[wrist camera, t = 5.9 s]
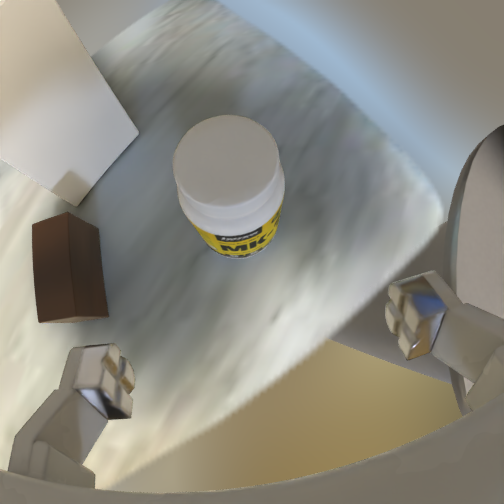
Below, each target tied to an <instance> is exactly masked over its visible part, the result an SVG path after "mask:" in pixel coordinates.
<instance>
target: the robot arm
mask: <svg viewBox="0 0 504 504" xmlns="http://www.w3.org/2000/svg"><path fill="white" fill-rule="evenodd" d="M388 295H389V296H390V298H391V299H390V300H389V301H388V303H387V304H386V310H385V315H386V321H387V324H388V327H389V329H390V331H391V333H392V334H394V335H396V336H398V337H400V338H399V342H398V345H399V347H400V349H401V351H402V352H403V354H404V356H405V358H406V360H407V361H408V360H411V359H414V358H416V357H419V356H422V355H425V354H427V353H430V352H431V354H432V355H433V356H435V357H436V358H438V359H439V360H441V361H442V362H444V363H445V364H447V365H448V366H450V367H451V368H453V369H454V370H455V371H457V372H458V373H460V374H461V375H463V376H464V377H466V378H467V379H469V380H470V381H472V382H473V383H474V385H473V386H472V388H471V389H470V390H469V392H468V393H467V396H466V398H465V399H466V401H467V403H468V404H469V406H470V408H471V410H472V412H470V413H468V414H467V415H465V416H463V417H461V418H459V419H458V420H456V421H454V422H452V423H450V424H448V425H446V426H444V427H442V428H440V429H438V430H436V431H434V432H432V433H429V434H427V435H425V436H423V437H421V438H418V439H416V440H414V441H412V442H409V443H407V444H404V445H402V446H400V447H397V448H395V449H392V450H389V451H387V452H384V453H381V454H379V455H376V456H373V457H370V458H367V459H364V460H361V461H358V462H355V463H352V464H349V465H346V466H343V467H339V468H335V469H332V470H328V471H325V472H321V473H317V474H313V475H309V476H304V477H301V478H295V479H291V480H286V481H281V482H275V483H269V484H264V485H257V486H250V487H244V488H235V489H226V490H216V491H202V492H182V493H181V492H180V493H145V492H125V491H112V490H102V489H95V474H94V472H93V471H91V470H90V469H88V468H86V467H85V466H83V465H82V464H83V462H84V461H85V459H86V457H87V456H88V454H89V452H90V451H91V449H92V447H93V446H94V444H95V442H96V441H97V439H98V437H99V436H100V434H101V432H102V431H103V429H104V428H105V426H106V424H107V423H108V420H113V419H128V418H131V415H132V405H133V399H132V398H131V396H130V395H129V394H130V393H131V392H132V390H133V389H134V387H135V376H134V370H133V368H132V365H131V364H130V362H129V361H128V359H126V358H124V357H122V356H120V354H121V350H120V348H119V347H118V346H117V344H115V343H109V344H99V345H89V346H82V347H73V348H72V349H71V350H70V352H69V355H68V358H67V361H66V364H65V368H64V371H63V375H62V378H61V382H60V385H59V389H58V390H54V391H53V392H52V393H51V395H50V396H49V397H48V398H47V399H46V400H45V401H44V403H43V404H42V405H41V406H40V407H39V408H38V409H37V411H36V412H35V413H34V414H33V415H32V416H31V418H30V419H29V420H28V421H27V422H26V424H25V425H24V426H23V427H22V428H21V429H20V431H19V432H18V433H17V434H16V435H15V438H14V443H13V447H12V452H11V456H10V461H9V467H8V471H5V470H2V469H0V504H504V319H502V318H499V317H497V316H495V315H493V314H491V313H489V312H486V311H484V310H482V309H480V308H478V307H475V306H473V305H471V304H469V303H465V304H463V303H462V302H461V301H460V299H459V298H458V297H457V296H456V294H455V293H454V292H453V291H452V290H451V288H450V287H449V286H448V285H447V284H446V282H445V281H444V280H443V279H442V278H441V276H440V275H439V274H438V273H437V272H435V271H433V270H432V271H429V272H426V273H423V274H420V275H416V276H413V277H410V278H407V279H404V280H400V281H397V282H394V283H391V284H390V286H389V289H388Z"/></svg>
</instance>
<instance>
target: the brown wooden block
mask: <svg viewBox="0 0 504 504" xmlns="http://www.w3.org/2000/svg"><path fill="white" fill-rule="evenodd" d="M32 252H33V273H34V286H35V297H36V306H37V315H38V322H39V323H76V322H82V321H89V320H95V319H101V318H107V317H109V314H108V307H107V301H106V294H105V287H104V279H103V270H102V261H101V251H100V240H99V229H98V228H96V227H94V226H93V225H91V224H89V223H87V222H85V221H84V220H82V219H80V218H78V217H76V216H75V215H73V214H71V213H69V212H65V213H63V214H60V215H57V216H54V217H51V218H48V219H45V220H43V221H40V222H37V223H35V224H32Z"/></svg>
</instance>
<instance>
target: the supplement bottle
mask: <svg viewBox="0 0 504 504" xmlns="http://www.w3.org/2000/svg"><path fill="white" fill-rule="evenodd" d="M173 173H174V177H175V180H176V183H177V193H178V199H179V202H180V205H181V208H182V210H183V212H184V213H185V215H186V216H187V218H188V219H189V221H190V222H191V223H192V224H193V226H194V227H195V229H196V230H197V231H198V233H199V234H200V235H201V237H202V238H203V239H204V241H205V242H206V243H207V245H208V246H209V247H210V248H211V249H212V250H214V251H215V252H217V253H218V254H220V255H222V256H225V257H228V258H234V259H242V258H248V257H251V256H254V255H256V254H258V253H259V252H261V251H262V250H263V249H265V248H266V247H267V246H268V245H269V244H270V242H271V241H272V239H273V238H274V236H275V234H276V231H277V227H278V223H279V218H280V213H281V207H282V202H283V198H284V192H285V177H284V172H283V169H282V166H281V164H280V162H279V151H278V147H277V145H276V142H275V140H274V139H273V137H272V135H271V134H270V133H269V132H268V130H267V129H265V128H264V127H263V126H262V125H260V124H259V123H257V122H256V121H254V120H252V119H249V118H246V117H243V116H237V115H221V116H215V117H212V118H209V119H206V120H204V121H202V122H200V123H198V124H197V125H195V126H194V127H192V128H191V129H190V130H189V131H188V132H187V133H186V134H185V135H184V136H183V137H182V139H181V140H180V142H179V143H178V145H177V147H176V150H175V153H174V157H173Z"/></svg>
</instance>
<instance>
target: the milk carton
mask: <svg viewBox="0 0 504 504" xmlns="http://www.w3.org/2000/svg"><path fill="white" fill-rule="evenodd" d="M138 134H139V131H138V129H137V128H136V126H135V125H134V123H133V122H132V120H131V119H130V117H129V116H128V114H127V113H126V111H125V110H124V108H123V107H122V105H121V103H120V102H119V100H118V99H117V97H116V96H115V94H114V93H113V91H112V90H111V88H110V86H109V85H108V83H107V82H106V80H105V79H104V77H103V75H102V74H101V72H100V71H99V69H98V68H97V66H96V64H95V63H94V61H93V60H92V58H91V57H90V55H89V54H88V52H87V50H86V49H85V47H84V45H83V44H82V42H81V41H80V39H79V37H78V36H77V34H76V33H75V31H74V29H73V28H72V26H71V24H70V23H69V21H68V19H67V18H66V17H65V14H64V13H63V11H62V10H61V8H60V6H59V5H58V3H57V1H56V0H0V159H2V160H3V161H5V162H6V163H8V164H9V165H11V166H12V167H14V168H15V169H17V170H18V171H20V172H21V173H23V174H24V175H26V176H27V177H29V178H30V179H32V180H34V181H35V182H37V183H38V184H40V185H41V186H43V187H45V188H46V189H48V190H49V191H51V192H52V193H54V194H56V195H57V196H59V197H60V198H62V199H64V200H65V201H67V202H69V203H70V204H72V205H73V206H75V207H77V206H78V205H79V203H80V202H81V201H82V200H83V198H84V197H85V196H86V194H87V193H88V192H89V191H90V189H91V188H92V187H93V186H94V185H95V183H96V182H97V181H98V180H99V178H100V177H101V176H102V175H103V174H104V173H105V171H106V170H107V169H108V168H109V167H110V165H111V164H112V163H113V162H114V161H115V160H116V159H117V157H118V156H119V155H120V154H121V153H122V152H123V151H124V150H125V149H126V147H127V146H128V145H129V144H130V143H131V142H132V141H133V140H134V139H135V138H136V137H137V136H138Z"/></svg>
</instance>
